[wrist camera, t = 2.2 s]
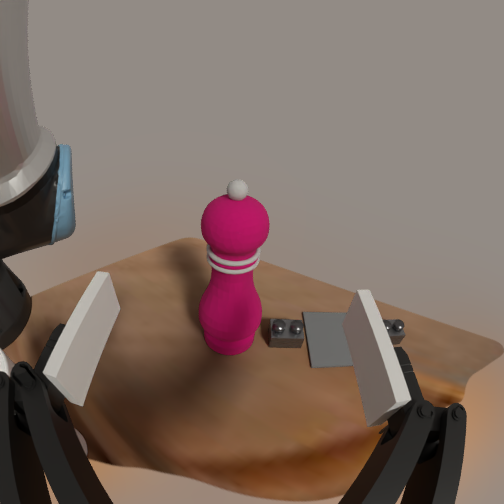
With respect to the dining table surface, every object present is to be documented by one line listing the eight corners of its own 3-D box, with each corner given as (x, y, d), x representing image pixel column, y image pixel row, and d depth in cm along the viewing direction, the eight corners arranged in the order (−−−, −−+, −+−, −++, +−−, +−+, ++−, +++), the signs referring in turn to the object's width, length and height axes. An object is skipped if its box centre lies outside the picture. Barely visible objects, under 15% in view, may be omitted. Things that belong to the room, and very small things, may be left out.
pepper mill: (267, 329, 34) (296, 180, 23) (237, 369, 29) (254, 208, 17) (221, 306, 37) (227, 162, 25) (188, 339, 32) (174, 182, 20)
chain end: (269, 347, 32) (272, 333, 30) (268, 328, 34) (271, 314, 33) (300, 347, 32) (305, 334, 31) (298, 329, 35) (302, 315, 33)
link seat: (311, 367, 30) (311, 366, 30) (302, 313, 37) (303, 311, 37) (376, 363, 30) (376, 362, 30) (359, 314, 38) (360, 312, 37)
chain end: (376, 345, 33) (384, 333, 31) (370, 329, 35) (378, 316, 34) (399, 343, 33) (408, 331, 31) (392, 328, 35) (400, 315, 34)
